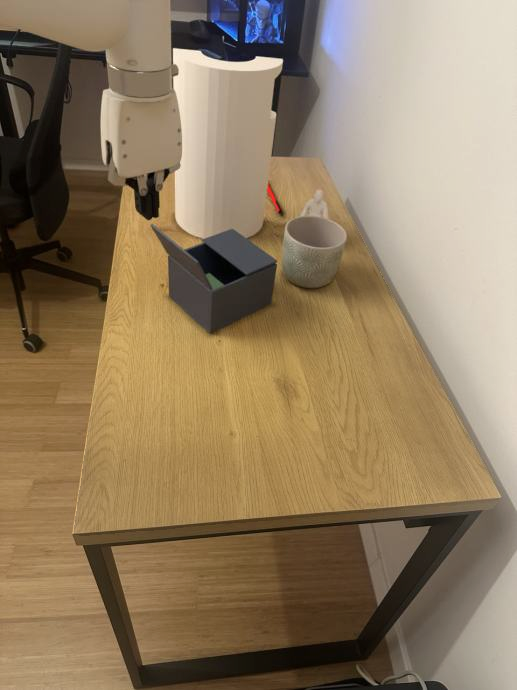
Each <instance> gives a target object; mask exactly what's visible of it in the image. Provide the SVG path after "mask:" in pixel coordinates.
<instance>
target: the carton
mask: <svg viewBox="0 0 517 690" xmlns="http://www.w3.org/2000/svg"><path fill="white" fill-rule="evenodd" d="M183 249H184V250H185V251H186V252H188V253H189V254H190V255H191V256H192V257H194V258H195V259H196V260H197V261H198V262H199V263H200V265H201V267H202V269H203V271H204V273H205V275H206V274H208V273H210V274H211V275H212V276H214V277H215V278H216V279H217V280H219V281H220V282H221V283H222V284H223V285H224V286H222V287H219V288H217V289H215V290H210V289H209V288H208V287H207V286H205V285H204V284H203V283H202V282H201V281H199V280H198V279H197V278H196V277H195V276H194V275H192V274H191V273H190V272H189V271H188V270H186V269H185V268H184V267H183V266H182V265H180V264H179V263H178V262H177V261H176V260H175V259H173V258H172V257H171V256H170V255H169V254H167V272H168V297H169V298H170V299H171V300H172V301H173V302H174V303H175V304H176V305H177V306H178V307H180V308H181V310H183V311H184V312H185V313H186V314H187V315H188V316H189V317H190V318H191V319H193V320H194V321H195V322H196V323H197V324H198V325H199V326H200V327H201V328H202V329H203V330H205V331H206V332H207V333H208V334H209V335H211V334H214V333H216V332H218V331H220V330H222V329H224V328H226V327H228V326H230V325H232V324H234V323H237V322H238V321H240V320H242V319H244V318H246V317H249V316H250V315H252V314H254V313H256V312H258V311H261V310H263V309H265V308H267V307H268V306H271V305H272V302H273V301H272V300H273V295H274V294H273V293H274V287H275V280H276V274H277V268H278V264H277V263H278V260H277V259H276V258H274V257H273V256H272V255H270V254H269V253H268V252H266V251H265V250H264V249H262V248H261V247H259V246H258V245H256V244H255V243H254V242H253V241H251V240H250V239H248V238H245V237H244V236H242V235H241V234H239V233H238V232H237V231H235V230H234V229H230V230H227V231H224V232H221V233H219V234H216V235H213V236H210V237H208V238H205V239H203V238H201V243H197V244H196V245H193V246H189V247H188V248H183Z"/></svg>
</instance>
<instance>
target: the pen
mask: <svg viewBox="0 0 517 690" xmlns="http://www.w3.org/2000/svg"><path fill="white" fill-rule="evenodd" d="M267 193H268V194H269V196H270V199H271V201H272V202H273V205H274V207H275V209H276V211H277V213H278V214H279V215H280V216H281V217H282V216H283V211H282V208H281V206H280V204H279V202H278V200H277V199H276V196H275V194H274V193H273V191H272V188H271V187H270V185H269V183H268V187H267Z"/></svg>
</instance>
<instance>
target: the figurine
mask: <svg viewBox="0 0 517 690" xmlns="http://www.w3.org/2000/svg"><path fill="white" fill-rule="evenodd" d="M306 215H311V216H320V217H324V218H327V219H329V209H328V204H327V202H326V201H325V200H324V192H323V190H322V189H320V188H319V189H316V191H315V192H314V195H313V198H310V199H308V200H307V202H306V203H305V204H304V206H303V207H302V210H301V212H300V214H299V216H306Z"/></svg>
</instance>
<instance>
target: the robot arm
mask: <svg viewBox="0 0 517 690" xmlns="http://www.w3.org/2000/svg"><path fill="white" fill-rule="evenodd" d="M171 8H172V7H171V0H0V23H1V24H3V25H6V26H9V27H13V28H15V29H18V30H20V31H23V32H27V33H29V34H32V35H34V36H39V37H42V38H45V39H47V40H51V41H54V42H56V43H60V44H62V45H66V46H69V47H72V48H75V49H79V50H83V51H87V52H104V51H105V59H106V68H107V78H108V79H107V81H108V86H109V87H108V88H105V89H103V91H102V96H101V105H100V147H101V159H102V162H103V164H104V166H106V167H108V174H107V181H108V182H109V183H110V184H111V185H113V186H115V187H125V186H128V187H129V188H130V189H132V190H133V196H134V207H135V211H136V212H137V213H138V214H139V215H140V216H142V217H143V218H144V219H145V220H146V221H152V219H153V218H154V219H158V218H159V217H160V210H159V209H160V208H161V206H160V203H161V202H160V201H161V200H160V192H162V190H163V189H164V182H165V181H166V180H167V178H168V177H169V175H171V174H173V173H175V171H176V170H178V169H179V168H180V166H181V165H180V161H181V158H182V129H181V119H180V111H179V106H178V100H177V96H176V92H175V90H174V87H173V77H174V76H178V74H179V69H178V66H177V65H176V64H173V62H172V17H171V16H172V12H171Z"/></svg>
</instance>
